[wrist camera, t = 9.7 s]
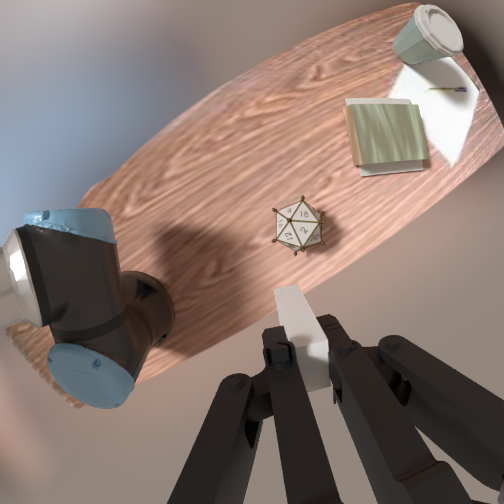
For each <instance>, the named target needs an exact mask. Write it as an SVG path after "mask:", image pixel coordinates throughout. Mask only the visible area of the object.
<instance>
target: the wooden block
mask: <svg viewBox="0 0 504 504" xmlns="http://www.w3.org/2000/svg"><path fill="white" fill-rule="evenodd" d="M343 112H344V116H345V121H346V125H347V130H348V134H349V139H350V144H351V149H352V155H353V160H354V166H355V165H365V164H374V163H383V162H394V161H406V160H419V159H429V157H428V151H427V145H426V140H425V134H424V129H423V125H422V120H421V116H420V111H419V107H418V105H412V104H350V105H349V106H347V107H346V108H344V109H343Z"/></svg>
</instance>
